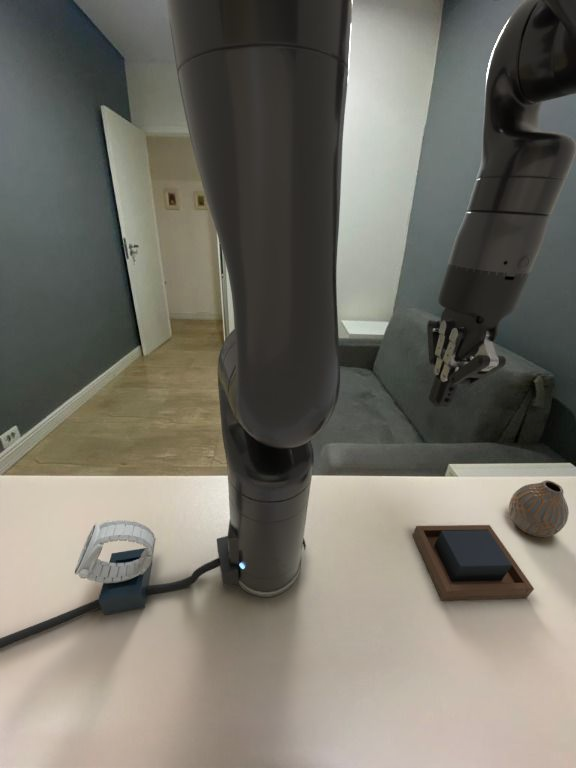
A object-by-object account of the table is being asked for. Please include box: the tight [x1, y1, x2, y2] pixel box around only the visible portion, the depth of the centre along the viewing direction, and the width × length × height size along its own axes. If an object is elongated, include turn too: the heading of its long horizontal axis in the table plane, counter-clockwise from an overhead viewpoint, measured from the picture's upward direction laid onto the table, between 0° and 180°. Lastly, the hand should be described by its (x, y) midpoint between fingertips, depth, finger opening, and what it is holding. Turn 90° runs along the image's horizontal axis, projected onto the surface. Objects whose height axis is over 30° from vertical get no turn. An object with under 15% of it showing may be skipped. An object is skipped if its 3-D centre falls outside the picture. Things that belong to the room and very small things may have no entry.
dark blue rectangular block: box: [434, 530, 512, 581], centre depth 42 cm, size 7×5×4 cm
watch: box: [74, 520, 157, 616], centre depth 36 cm, size 6×8×11 cm
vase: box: [508, 480, 570, 538], centre depth 48 cm, size 7×7×9 cm
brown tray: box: [412, 524, 535, 601], centre depth 43 cm, size 12×9×2 cm
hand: (438, 403), depth 40 cm, fingers closed
